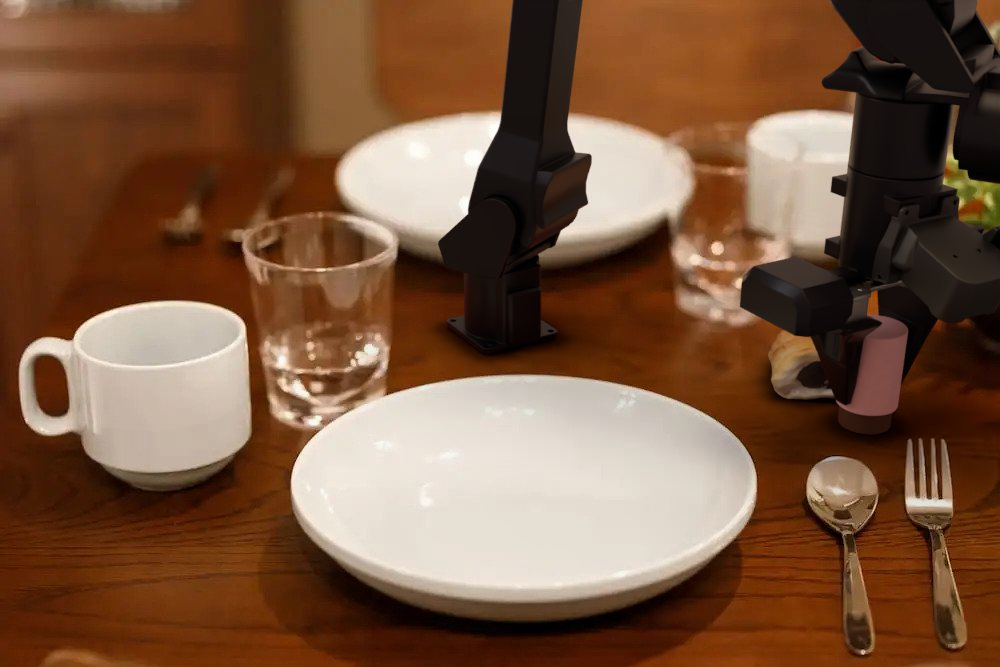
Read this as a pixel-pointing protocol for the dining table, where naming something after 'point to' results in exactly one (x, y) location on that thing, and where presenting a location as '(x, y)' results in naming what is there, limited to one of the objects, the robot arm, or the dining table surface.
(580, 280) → the dining table surface
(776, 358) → the pastry
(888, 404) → the bottle
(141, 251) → the dining table surface
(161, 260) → the dining table surface
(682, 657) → the dining table surface
